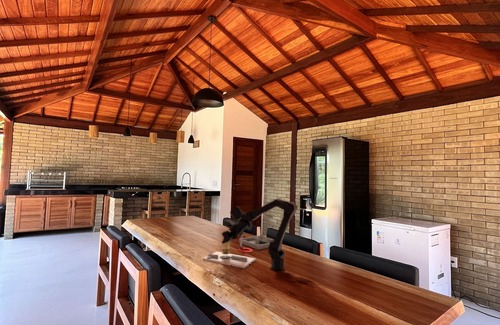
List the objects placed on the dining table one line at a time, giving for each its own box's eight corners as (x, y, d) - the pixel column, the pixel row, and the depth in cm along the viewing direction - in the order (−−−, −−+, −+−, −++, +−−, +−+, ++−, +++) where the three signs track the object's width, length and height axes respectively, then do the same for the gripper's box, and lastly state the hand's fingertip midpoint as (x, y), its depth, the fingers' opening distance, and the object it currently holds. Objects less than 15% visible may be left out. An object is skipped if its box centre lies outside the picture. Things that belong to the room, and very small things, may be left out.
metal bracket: (265, 238, 197) (249, 234, 206) (264, 246, 196) (247, 242, 205) (275, 240, 208) (259, 237, 217) (273, 248, 207) (257, 244, 216)
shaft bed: (255, 260, 167) (255, 255, 167) (244, 268, 152) (244, 262, 152) (216, 253, 179) (217, 248, 179) (203, 259, 164) (203, 254, 164)
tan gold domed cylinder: (230, 254, 165) (231, 232, 165) (221, 254, 164) (222, 233, 164) (229, 251, 170) (230, 231, 170) (221, 252, 169) (222, 231, 169)
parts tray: (279, 245, 204) (279, 241, 205) (258, 249, 190) (258, 245, 190) (260, 239, 221) (260, 235, 221) (239, 242, 207) (239, 239, 207)
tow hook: (254, 251, 189) (242, 248, 192) (255, 232, 189) (243, 230, 193) (249, 254, 181) (237, 251, 185) (250, 235, 181) (238, 232, 185)
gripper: (239, 214, 175) (224, 229, 179) (225, 218, 158) (208, 234, 162) (250, 227, 171) (234, 242, 175) (236, 233, 154) (219, 249, 158)
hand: (224, 242), depth 168 cm, fingers closed on tan gold domed cylinder, 5 cm apart
